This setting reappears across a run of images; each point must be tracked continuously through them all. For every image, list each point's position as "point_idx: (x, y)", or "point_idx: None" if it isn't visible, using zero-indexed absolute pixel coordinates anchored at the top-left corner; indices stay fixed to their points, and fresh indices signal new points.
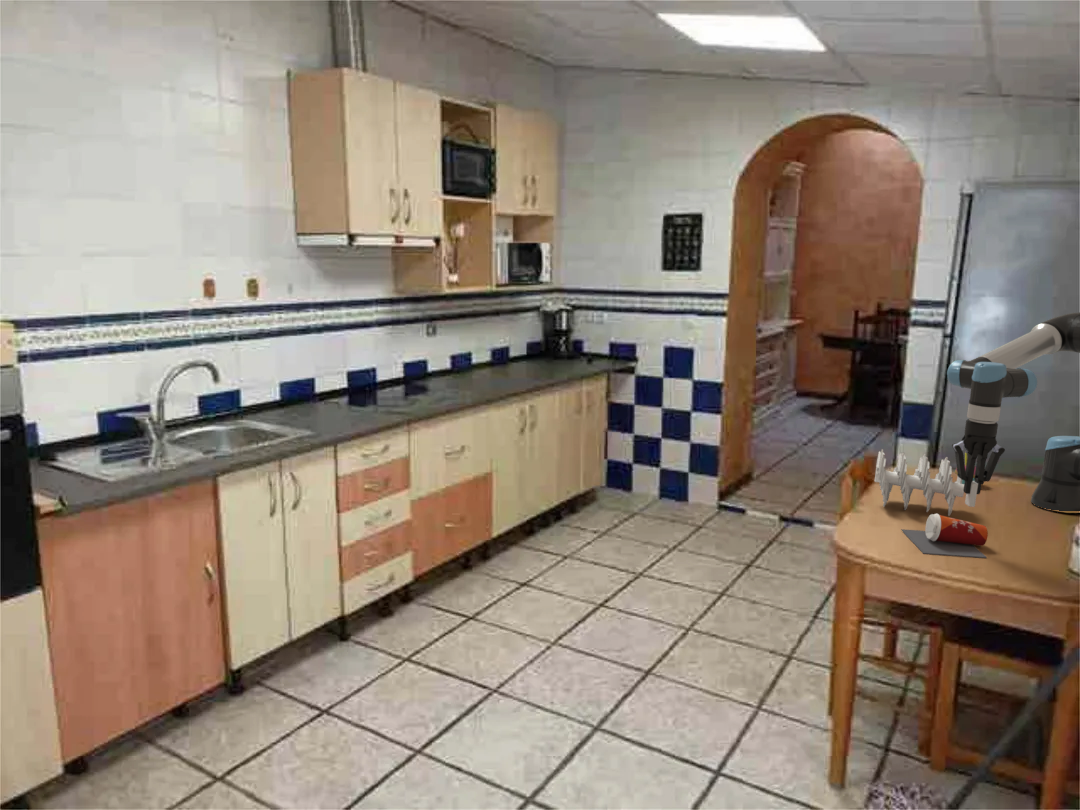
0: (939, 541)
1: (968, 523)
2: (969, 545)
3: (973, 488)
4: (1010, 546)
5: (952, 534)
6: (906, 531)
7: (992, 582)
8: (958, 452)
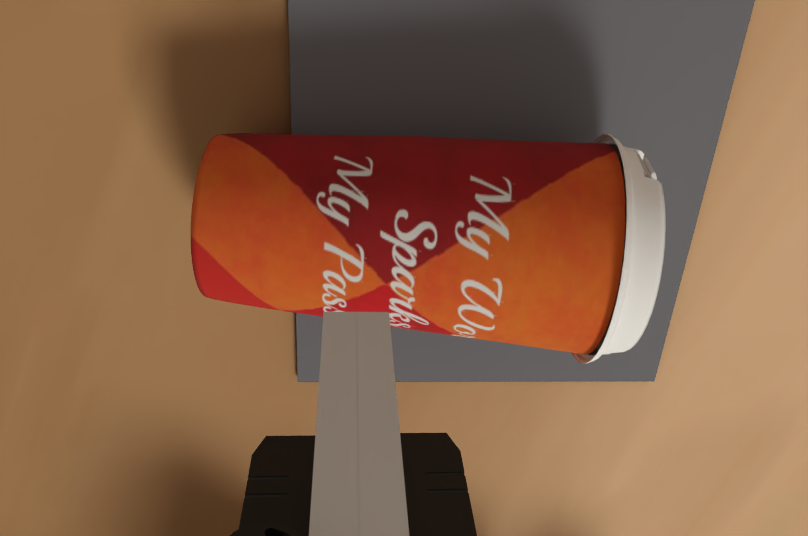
0: None
1: (351, 243)
2: None
3: (375, 474)
4: (9, 217)
5: (501, 142)
6: (641, 350)
7: None
8: None
